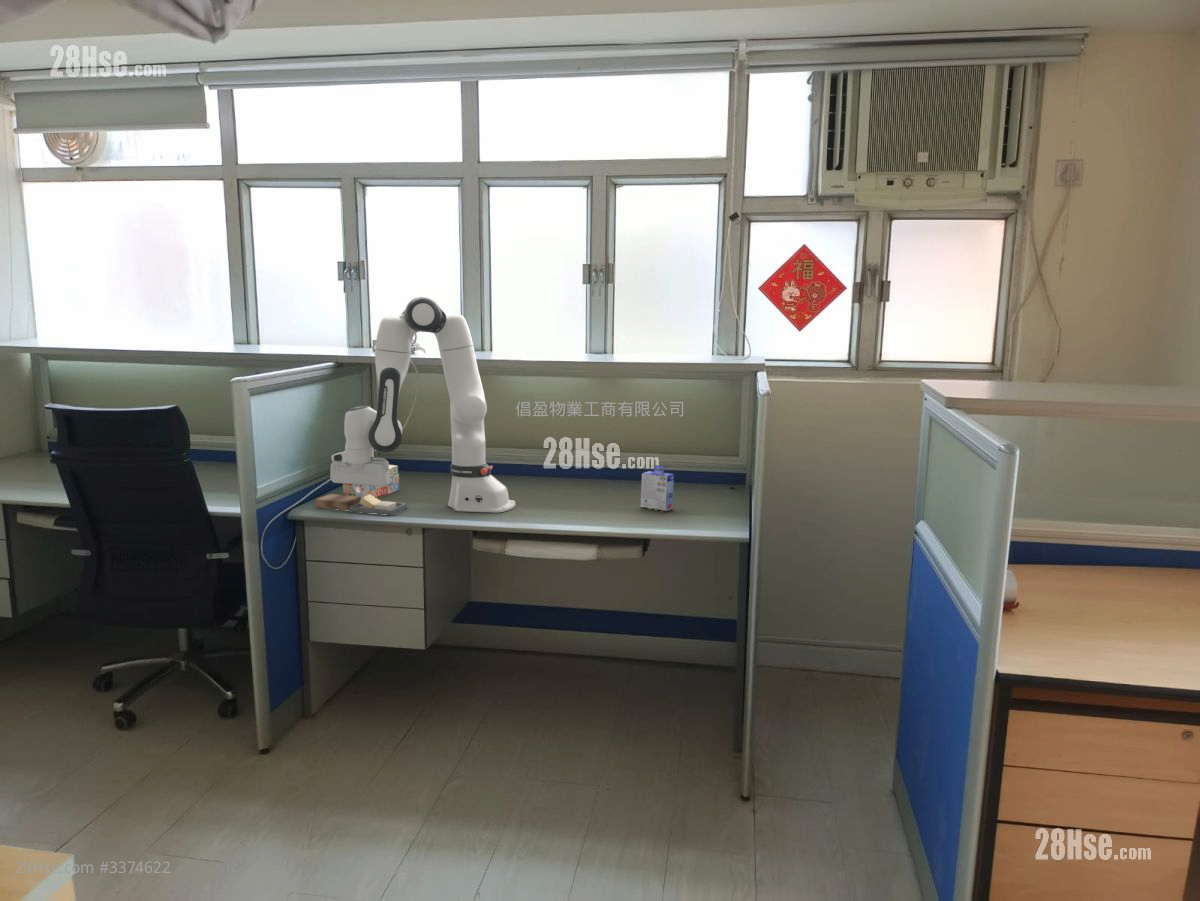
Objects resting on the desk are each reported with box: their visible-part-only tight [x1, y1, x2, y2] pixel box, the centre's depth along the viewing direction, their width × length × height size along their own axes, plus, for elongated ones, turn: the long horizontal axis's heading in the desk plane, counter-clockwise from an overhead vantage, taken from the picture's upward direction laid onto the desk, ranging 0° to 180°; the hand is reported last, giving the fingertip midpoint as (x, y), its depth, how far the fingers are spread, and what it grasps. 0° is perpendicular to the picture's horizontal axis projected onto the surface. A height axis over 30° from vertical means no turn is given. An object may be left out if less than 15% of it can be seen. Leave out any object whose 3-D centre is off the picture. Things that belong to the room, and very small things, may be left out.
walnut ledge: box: [315, 493, 361, 511], centre depth 267 cm, size 12×8×3 cm, turn 75°
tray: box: [348, 502, 408, 516], centre depth 263 cm, size 15×10×2 cm, turn 75°
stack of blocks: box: [342, 464, 400, 498], centre depth 282 cm, size 21×6×12 cm, turn 153°
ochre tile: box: [359, 494, 381, 508], centre depth 263 cm, size 5×5×2 cm
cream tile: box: [374, 500, 397, 510], centre depth 262 cm, size 5×5×2 cm
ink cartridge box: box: [640, 464, 675, 510], centre depth 271 cm, size 10×6×14 cm, turn 59°
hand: (361, 497), depth 264 cm, fingers closed
